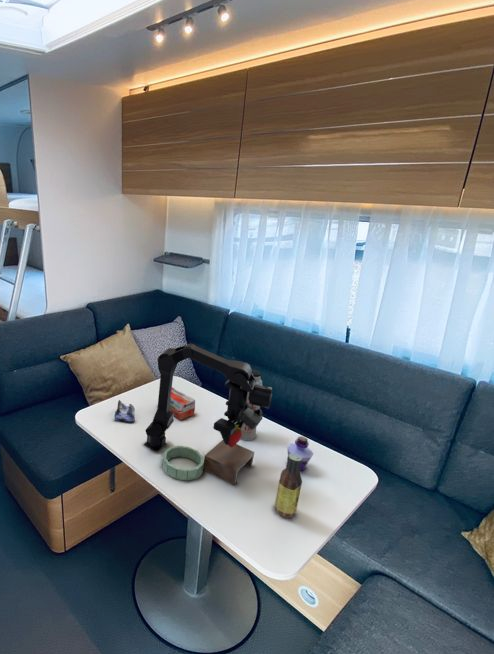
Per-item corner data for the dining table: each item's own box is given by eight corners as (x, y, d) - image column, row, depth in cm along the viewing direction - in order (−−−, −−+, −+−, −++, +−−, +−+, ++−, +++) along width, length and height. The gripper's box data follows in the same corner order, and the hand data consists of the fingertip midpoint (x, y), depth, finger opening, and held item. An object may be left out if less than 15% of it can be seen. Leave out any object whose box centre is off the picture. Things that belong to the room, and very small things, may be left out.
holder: (154, 467, 145) (155, 458, 143) (177, 450, 155) (177, 441, 153) (188, 486, 136) (189, 476, 135) (209, 466, 146) (210, 457, 145)
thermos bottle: (253, 442, 161) (264, 378, 151) (233, 437, 164) (242, 374, 154) (255, 431, 168) (266, 370, 158) (235, 427, 171) (245, 366, 161)
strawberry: (217, 447, 142) (220, 422, 139) (228, 439, 147) (232, 414, 144) (232, 455, 138) (236, 429, 135) (243, 446, 143) (247, 421, 140)
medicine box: (194, 415, 179) (196, 399, 176) (181, 421, 174) (183, 404, 171) (170, 401, 190) (171, 386, 187) (157, 406, 185) (158, 390, 183)
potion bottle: (283, 470, 145) (289, 442, 141) (284, 456, 153) (289, 429, 149) (310, 477, 142) (317, 448, 138) (309, 462, 150) (315, 434, 146)
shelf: (202, 469, 145) (204, 455, 143) (222, 451, 155) (223, 438, 152) (234, 485, 137) (236, 470, 135) (252, 465, 147) (254, 452, 145)
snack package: (144, 414, 179) (123, 405, 185) (144, 403, 175) (122, 394, 182) (129, 430, 170) (107, 420, 176) (128, 418, 167) (106, 408, 173)
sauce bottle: (297, 520, 123) (309, 466, 116) (275, 517, 124) (286, 463, 117) (293, 505, 129) (304, 452, 122) (272, 502, 130) (282, 449, 123)
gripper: (247, 419, 125) (240, 462, 130) (272, 398, 138) (264, 437, 143) (215, 406, 132) (210, 447, 137) (241, 387, 145) (235, 425, 150)
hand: (231, 439), depth 142 cm, fingers closed on strawberry, 7 cm apart
